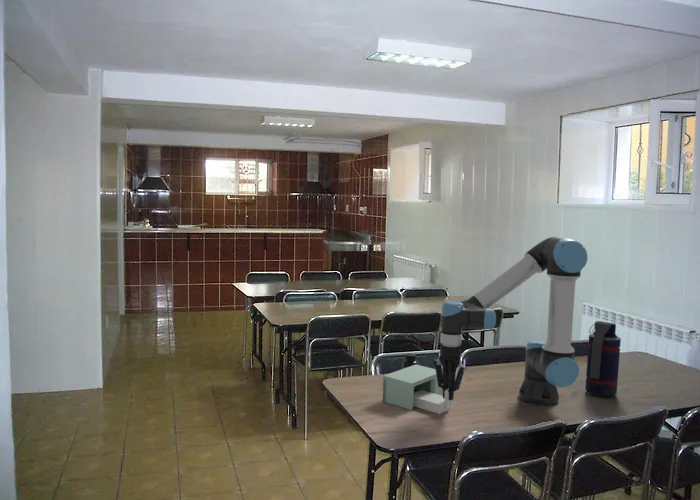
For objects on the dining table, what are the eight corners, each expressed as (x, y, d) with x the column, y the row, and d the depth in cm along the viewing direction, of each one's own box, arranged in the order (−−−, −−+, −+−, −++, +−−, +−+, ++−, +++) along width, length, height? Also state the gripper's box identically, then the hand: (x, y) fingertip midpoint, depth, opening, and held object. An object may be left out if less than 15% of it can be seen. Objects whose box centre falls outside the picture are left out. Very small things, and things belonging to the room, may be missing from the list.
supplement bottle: (419, 381, 249) (421, 353, 248) (414, 385, 243) (416, 357, 242) (404, 378, 252) (405, 351, 251) (399, 383, 246) (400, 355, 245)
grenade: (592, 387, 249) (597, 318, 246) (621, 394, 240) (626, 323, 238) (578, 394, 239) (583, 322, 237) (607, 402, 231) (613, 327, 228)
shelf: (443, 396, 231) (444, 371, 230) (411, 410, 214) (413, 383, 213) (414, 388, 240) (415, 364, 239) (382, 401, 223) (383, 375, 222)
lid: (452, 407, 218) (452, 398, 218) (439, 414, 212) (440, 404, 211) (420, 398, 227) (421, 389, 227) (407, 404, 220) (408, 395, 220)
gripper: (471, 346, 211) (468, 409, 213) (440, 339, 219) (437, 400, 221) (461, 349, 205) (458, 414, 207) (429, 342, 213) (426, 405, 215)
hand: (447, 407), depth 214 cm, fingers closed
